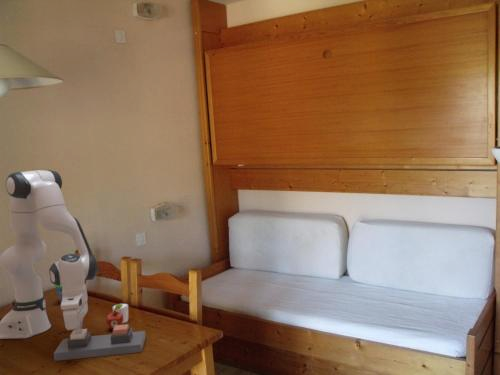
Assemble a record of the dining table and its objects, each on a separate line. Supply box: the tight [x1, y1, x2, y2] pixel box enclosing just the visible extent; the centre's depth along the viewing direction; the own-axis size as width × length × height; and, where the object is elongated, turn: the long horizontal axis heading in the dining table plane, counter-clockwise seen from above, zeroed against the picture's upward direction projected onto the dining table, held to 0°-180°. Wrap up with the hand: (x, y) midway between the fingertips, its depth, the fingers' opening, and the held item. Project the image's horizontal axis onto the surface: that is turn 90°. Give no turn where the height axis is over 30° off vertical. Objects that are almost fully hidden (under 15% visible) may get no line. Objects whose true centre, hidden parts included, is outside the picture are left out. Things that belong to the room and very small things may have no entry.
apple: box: [105, 303, 123, 330], centre depth 213 cm, size 8×7×10 cm
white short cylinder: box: [111, 303, 129, 324], centre depth 221 cm, size 7×7×7 cm
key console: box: [53, 327, 147, 362], centre depth 193 cm, size 32×13×6 cm, turn 95°
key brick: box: [112, 323, 130, 336], centre depth 193 cm, size 5×5×3 cm
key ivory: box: [69, 328, 88, 340], centre depth 192 cm, size 5×5×3 cm
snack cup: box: [54, 284, 62, 303], centre depth 252 cm, size 16×10×10 cm
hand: (79, 331), depth 192 cm, fingers closed, pressing on key ivory
